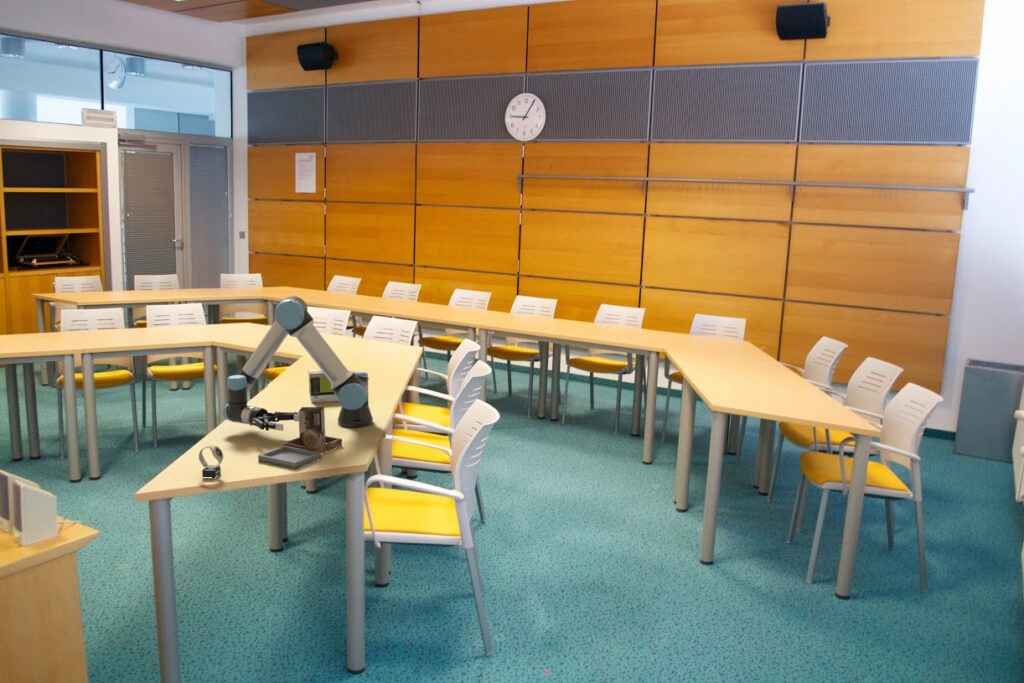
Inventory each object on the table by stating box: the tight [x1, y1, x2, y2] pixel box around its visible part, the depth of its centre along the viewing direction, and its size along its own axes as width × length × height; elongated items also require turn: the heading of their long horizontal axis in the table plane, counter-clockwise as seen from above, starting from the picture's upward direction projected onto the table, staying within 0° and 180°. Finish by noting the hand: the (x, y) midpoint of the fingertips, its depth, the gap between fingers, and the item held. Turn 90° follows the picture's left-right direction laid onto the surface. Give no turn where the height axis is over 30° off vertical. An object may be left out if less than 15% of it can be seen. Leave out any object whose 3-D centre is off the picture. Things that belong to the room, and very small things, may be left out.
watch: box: [198, 444, 224, 478], centre depth 277 cm, size 6×8×11 cm
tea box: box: [308, 369, 339, 403], centre depth 390 cm, size 15×10×15 cm, turn 108°
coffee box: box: [298, 406, 326, 448], centre depth 311 cm, size 9×6×16 cm
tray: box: [257, 445, 322, 470], centre depth 297 cm, size 14×18×2 cm
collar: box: [282, 435, 343, 454], centre depth 312 cm, size 16×16×3 cm
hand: (294, 423), depth 315 cm, fingers open, 13 cm apart
